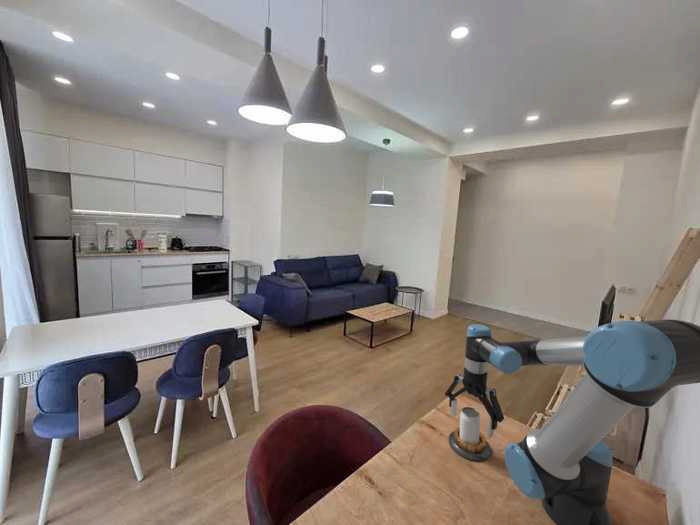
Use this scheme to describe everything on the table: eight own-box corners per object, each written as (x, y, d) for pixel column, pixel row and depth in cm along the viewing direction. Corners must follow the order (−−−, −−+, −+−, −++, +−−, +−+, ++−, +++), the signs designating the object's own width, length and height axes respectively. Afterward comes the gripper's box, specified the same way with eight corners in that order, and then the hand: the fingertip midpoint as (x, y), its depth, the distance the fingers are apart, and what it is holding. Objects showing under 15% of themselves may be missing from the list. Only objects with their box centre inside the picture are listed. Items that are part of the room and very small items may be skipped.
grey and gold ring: (497, 447, 103) (498, 438, 103) (479, 468, 94) (480, 458, 94) (460, 427, 114) (461, 418, 113) (441, 443, 105) (441, 434, 104)
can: (478, 452, 100) (479, 420, 98) (458, 445, 102) (459, 414, 101) (479, 439, 105) (480, 409, 104) (460, 434, 108) (461, 404, 107)
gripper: (518, 380, 94) (512, 440, 96) (448, 354, 112) (444, 405, 115) (509, 388, 89) (503, 451, 91) (438, 359, 107) (434, 412, 110)
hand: (470, 425), depth 103 cm, fingers open, 13 cm apart
